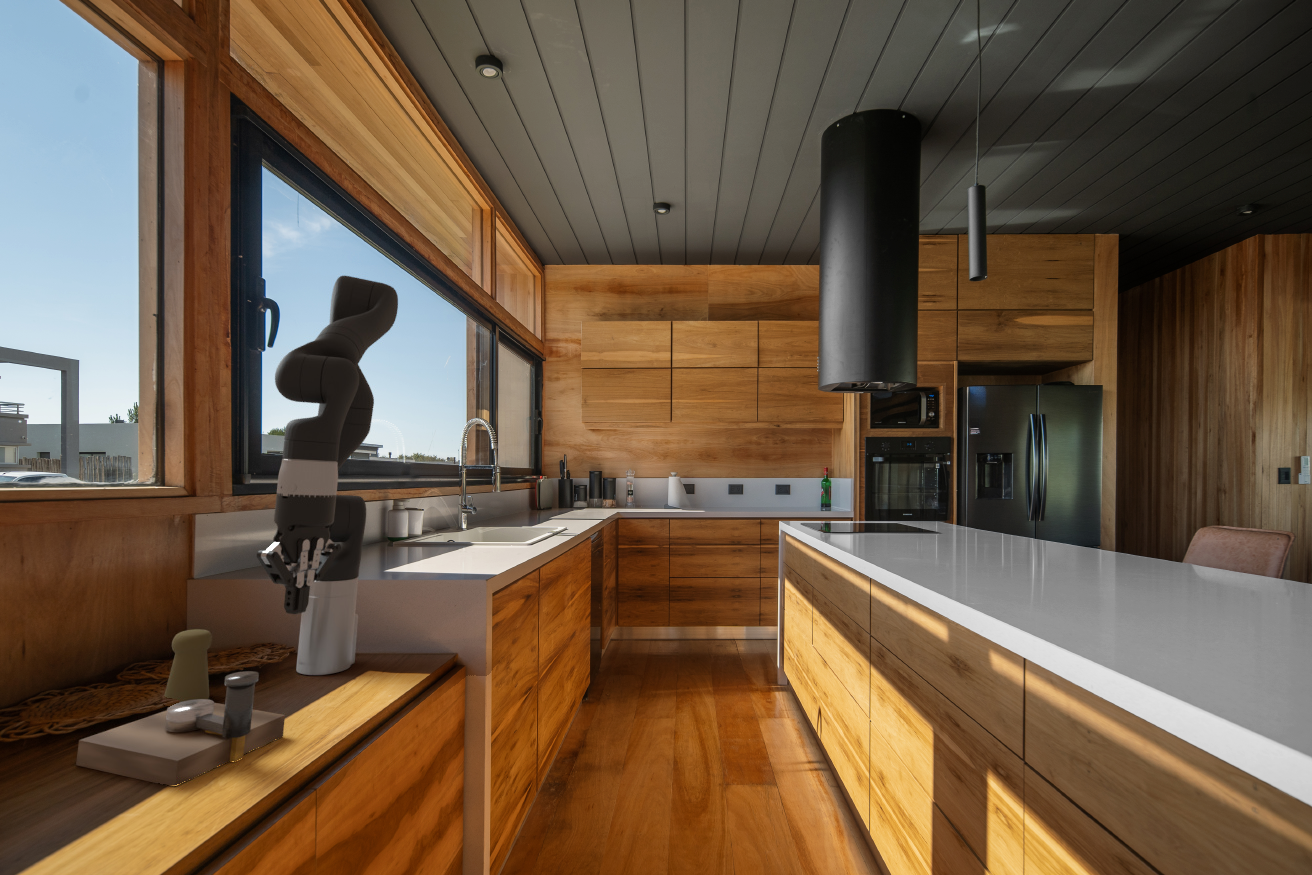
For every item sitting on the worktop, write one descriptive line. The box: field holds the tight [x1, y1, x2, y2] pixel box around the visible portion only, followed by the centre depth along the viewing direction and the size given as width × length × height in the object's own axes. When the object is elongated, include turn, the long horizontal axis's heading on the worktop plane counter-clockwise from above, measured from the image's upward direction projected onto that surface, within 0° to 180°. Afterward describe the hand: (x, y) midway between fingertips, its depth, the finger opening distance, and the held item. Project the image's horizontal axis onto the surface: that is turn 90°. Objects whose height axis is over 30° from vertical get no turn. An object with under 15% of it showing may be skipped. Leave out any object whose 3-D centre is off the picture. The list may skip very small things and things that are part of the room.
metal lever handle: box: [165, 670, 260, 738], centre depth 78 cm, size 13×5×8 cm, turn 70°
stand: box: [75, 702, 286, 785], centre depth 79 cm, size 15×17×3 cm
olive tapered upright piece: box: [163, 628, 213, 703], centre depth 97 cm, size 6×6×11 cm
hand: (295, 612), depth 85 cm, fingers closed
